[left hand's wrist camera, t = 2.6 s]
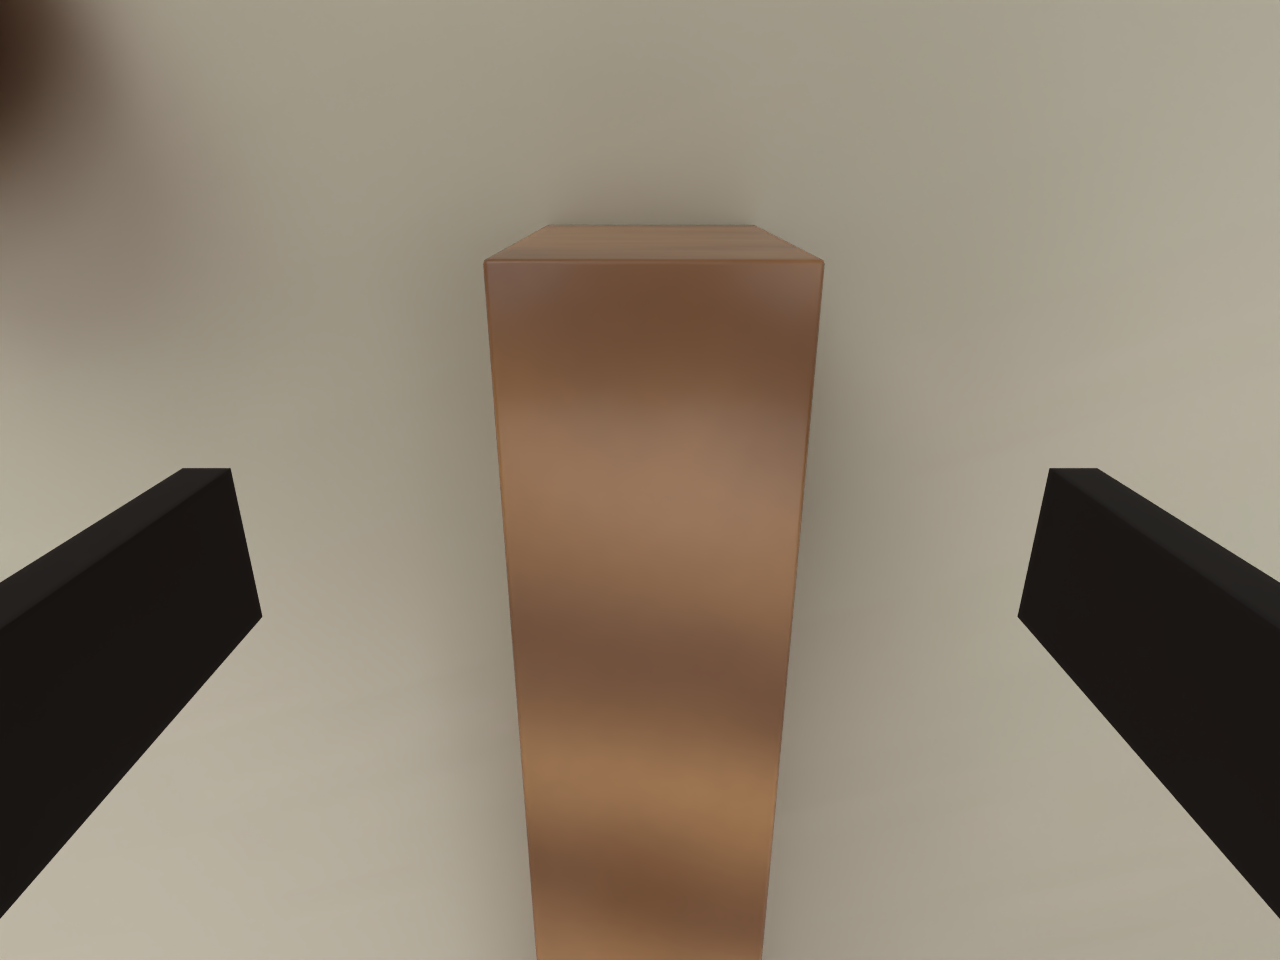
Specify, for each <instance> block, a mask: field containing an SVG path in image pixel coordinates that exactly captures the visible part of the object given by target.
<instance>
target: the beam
mask: <svg viewBox="0 0 1280 960" xmlns="http://www.w3.org/2000/svg"><path fill="white" fill-rule="evenodd" d="M483 267H484V280H485V293H486V306H487V319H488V332H489V345H490V358H491V371H492V384H493V397H494V410H495V423H496V436H497V449H498V462H499V475H500V488H501V501H502V514H503V527H504V540H505V553H506V566H507V579H508V592H509V605H510V618H511V631H512V644H513V657H514V670H515V683H516V696H517V709H518V722H519V735H520V748H521V761H522V774H523V787H524V800H525V813H526V826H527V839H528V852H529V865H530V878H531V891H532V904H533V917H534V930H535V943H536V956H537V960H762V950H763V939H764V928H765V917H766V906H767V895H768V884H769V872H770V861H771V850H772V839H773V828H774V817H775V806H776V795H777V784H778V773H779V762H780V751H781V740H782V729H783V718H784V707H785V696H786V685H787V673H788V662H789V651H790V640H791V629H792V618H793V607H794V596H795V585H796V574H797V563H798V552H799V541H800V530H801V519H802V508H803V497H804V486H805V474H806V463H807V452H808V441H809V430H810V419H811V408H812V397H813V386H814V375H815V364H816V353H817V342H818V331H819V320H820V309H821V298H822V286H823V275H824V261H823V260H821V259H819V258H817V257H815V256H814V255H812V254H810V253H808V252H806V251H804V250H802V249H800V248H798V247H796V246H794V245H792V244H790V243H788V242H786V241H784V240H782V239H780V238H778V237H776V236H774V235H772V234H770V233H769V232H767V231H765V230H763V229H761V228H759V227H757V226H755V225H548V226H546V227H544V228H542V229H540V230H538V231H537V232H535V233H533V234H531V235H529V236H527V237H526V238H524V239H522V240H520V241H518V242H517V243H515V244H513V245H511V246H509V247H508V248H506V249H504V250H502V251H500V252H498V253H497V254H495V255H493V256H491V257H489V258H488V259H486V260H484V263H483Z"/></svg>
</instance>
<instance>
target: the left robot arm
mask: <svg viewBox="0 0 1280 960" xmlns="http://www.w3.org/2000/svg"><path fill="white" fill-rule="evenodd" d="M261 618H262V613H261V608H260V603H259V599H258V594H257V589H256V585H255V580H254V575H253V571H252V566H251V561H250V557H249V552H248V548H247V543H246V538H245V534H244V529H243V524H242V520H241V515H240V510H239V506H238V501H237V496H236V492H235V487H234V482H233V478H232V473H231V468H182V469H181V470H179V471H178V472H176V473H174V474H173V475H171V476H170V477H168V478H166V479H165V480H163V481H162V482H160V483H158V484H157V485H155V486H154V487H152V488H150V489H149V490H147V491H146V492H144V493H142V494H141V495H139V496H138V497H136V498H135V499H133V500H131V501H130V502H128V503H127V504H125V505H123V506H122V507H120V508H119V509H117V510H115V511H114V512H112V513H111V514H109V515H107V516H106V517H104V518H103V519H101V520H99V521H98V522H96V523H95V524H93V525H91V526H90V527H88V528H87V529H85V530H83V531H82V532H80V533H79V534H77V535H75V536H74V537H72V538H71V539H69V540H67V541H66V542H64V543H63V544H61V545H60V546H58V547H56V548H55V549H53V550H52V551H50V552H48V553H47V554H45V555H44V556H42V557H40V558H39V559H37V560H36V561H34V562H32V563H31V564H29V565H28V566H26V567H24V568H23V569H21V570H20V571H18V572H16V573H15V574H13V575H12V576H10V577H8V578H7V579H5V580H4V581H2V582H0V918H1V917H2V916H3V915H4V914H5V913H6V911H7V910H8V909H9V908H10V907H11V906H12V904H13V903H14V902H15V901H16V900H17V899H18V898H19V896H20V895H21V894H22V893H23V892H24V891H25V890H26V888H27V887H28V886H29V885H30V884H31V883H32V881H33V880H34V879H35V878H36V877H37V876H38V875H39V873H40V872H41V871H42V870H43V869H44V868H45V866H46V865H47V864H48V863H49V862H50V861H51V860H52V858H53V857H54V856H55V855H56V854H57V853H58V852H59V850H60V849H61V848H62V847H63V846H64V845H65V843H66V842H67V841H68V840H69V839H70V838H71V837H72V835H73V834H74V833H75V832H76V831H77V830H78V828H79V827H80V826H81V825H82V824H83V823H84V822H85V820H86V819H87V818H88V817H89V816H90V815H91V813H92V812H93V811H94V810H95V809H96V808H97V807H98V805H99V804H100V803H101V802H102V801H103V800H104V799H105V797H106V796H107V795H108V794H109V793H110V792H111V790H112V789H113V788H114V787H115V786H116V785H117V784H118V782H119V781H120V780H121V779H122V778H123V777H124V775H125V774H126V773H127V772H128V771H129V770H130V769H131V767H132V766H133V765H134V764H135V763H136V762H137V761H138V759H139V758H140V757H141V756H142V755H143V754H144V752H145V751H146V750H147V749H148V748H149V747H150V746H151V744H152V743H153V742H154V741H155V740H156V739H157V737H158V736H159V735H160V734H161V733H162V732H163V731H164V729H165V728H166V727H167V726H168V725H169V724H170V723H171V721H172V720H173V719H174V718H175V717H176V716H177V714H178V713H179V712H180V711H181V710H182V709H183V708H184V706H185V705H186V704H187V703H188V702H189V701H190V699H191V698H192V697H193V696H194V695H195V694H196V693H197V691H198V690H199V689H200V688H201V687H202V686H203V684H204V683H205V682H206V681H207V680H208V679H209V678H210V676H211V675H212V674H213V673H214V672H215V671H216V670H217V668H218V667H219V666H220V665H221V664H222V663H223V661H224V660H225V659H226V658H227V657H228V656H229V655H230V653H231V652H232V651H233V650H234V649H235V648H236V646H237V645H238V644H239V643H240V642H241V641H242V640H243V638H244V637H245V636H246V635H247V634H248V633H249V632H250V630H251V629H252V628H253V627H254V626H255V625H256V623H257V622H258V621H259V620H260V619H261ZM1018 618H1019V619H1020V620H1021V621H1022V622H1023V623H1024V625H1025V626H1026V627H1027V628H1028V629H1029V630H1030V632H1031V633H1032V634H1033V635H1034V636H1035V637H1036V638H1037V640H1038V641H1039V642H1040V643H1041V644H1042V645H1043V646H1044V648H1045V649H1046V650H1047V651H1048V652H1049V653H1050V655H1051V656H1052V657H1053V658H1054V659H1055V660H1056V661H1057V663H1058V664H1059V665H1060V666H1061V667H1062V668H1063V670H1064V671H1065V672H1066V673H1067V674H1068V675H1069V676H1070V678H1071V679H1072V680H1073V681H1074V682H1075V683H1076V684H1077V686H1078V687H1079V688H1080V689H1081V690H1082V691H1083V693H1084V694H1085V695H1086V696H1087V697H1088V698H1089V699H1090V701H1091V702H1092V703H1093V704H1094V705H1095V706H1096V708H1097V709H1098V710H1099V711H1100V712H1101V713H1102V714H1103V716H1104V717H1105V718H1106V719H1107V720H1108V721H1109V723H1110V724H1111V725H1112V726H1113V727H1114V728H1115V729H1116V731H1117V732H1118V733H1119V734H1120V735H1121V736H1122V737H1123V739H1124V740H1125V741H1126V742H1127V743H1128V744H1129V746H1130V747H1131V748H1132V749H1133V750H1134V751H1135V752H1136V754H1137V755H1138V756H1139V757H1140V758H1141V759H1142V761H1143V762H1144V763H1145V764H1146V765H1147V766H1148V767H1149V769H1150V770H1151V771H1152V772H1153V773H1154V774H1155V775H1156V777H1157V778H1158V779H1159V780H1160V781H1161V782H1162V784H1163V785H1164V786H1165V787H1166V788H1167V789H1168V790H1169V792H1170V793H1171V794H1172V795H1173V796H1174V797H1175V799H1176V800H1177V801H1178V802H1179V803H1180V804H1181V805H1182V807H1183V808H1184V809H1185V810H1186V811H1187V812H1188V813H1189V815H1190V816H1191V817H1192V818H1193V819H1194V820H1195V822H1196V823H1197V824H1198V825H1199V826H1200V827H1201V828H1202V830H1203V831H1204V832H1205V833H1206V834H1207V835H1208V837H1209V838H1210V839H1211V840H1212V841H1213V842H1214V843H1215V845H1216V846H1217V847H1218V848H1219V849H1220V850H1221V852H1222V853H1223V854H1224V855H1225V856H1226V857H1227V858H1228V860H1229V861H1230V862H1231V863H1232V864H1233V865H1234V866H1235V868H1236V869H1237V870H1238V871H1239V872H1240V873H1241V875H1242V876H1243V877H1244V878H1245V879H1246V880H1247V881H1248V883H1249V884H1250V885H1251V886H1252V887H1253V888H1254V890H1255V891H1256V892H1257V893H1258V894H1259V895H1260V896H1261V898H1262V899H1263V900H1264V901H1265V902H1266V903H1267V904H1268V906H1269V907H1270V908H1271V909H1272V910H1273V911H1274V913H1275V914H1276V915H1277V916H1278V917H1279V918H1280V582H1278V581H1276V580H1275V579H1273V578H1272V577H1270V576H1268V575H1267V574H1265V573H1264V572H1262V571H1260V570H1259V569H1257V568H1256V567H1254V566H1252V565H1251V564H1249V563H1248V562H1246V561H1244V560H1243V559H1241V558H1240V557H1238V556H1236V555H1235V554H1233V553H1232V552H1230V551H1228V550H1227V549H1225V548H1224V547H1222V546H1220V545H1219V544H1217V543H1216V542H1214V541H1213V540H1211V539H1209V538H1208V537H1206V536H1205V535H1203V534H1201V533H1200V532H1198V531H1197V530H1195V529H1193V528H1192V527H1190V526H1189V525H1187V524H1185V523H1184V522H1182V521H1181V520H1179V519H1177V518H1176V517H1174V516H1173V515H1171V514H1169V513H1168V512H1166V511H1165V510H1163V509H1161V508H1160V507H1158V506H1157V505H1155V504H1153V503H1152V502H1150V501H1149V500H1147V499H1145V498H1144V497H1142V496H1141V495H1139V494H1138V493H1136V492H1134V491H1133V490H1131V489H1130V488H1128V487H1126V486H1125V485H1123V484H1122V483H1120V482H1118V481H1117V480H1115V479H1114V478H1112V477H1110V476H1109V475H1107V474H1106V473H1104V472H1102V471H1101V470H1099V469H1098V468H1049V473H1048V478H1047V482H1046V487H1045V492H1044V496H1043V501H1042V506H1041V510H1040V515H1039V520H1038V524H1037V529H1036V534H1035V538H1034V543H1033V548H1032V552H1031V557H1030V561H1029V566H1028V571H1027V575H1026V580H1025V585H1024V589H1023V594H1022V599H1021V603H1020V608H1019V613H1018Z"/></svg>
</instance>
